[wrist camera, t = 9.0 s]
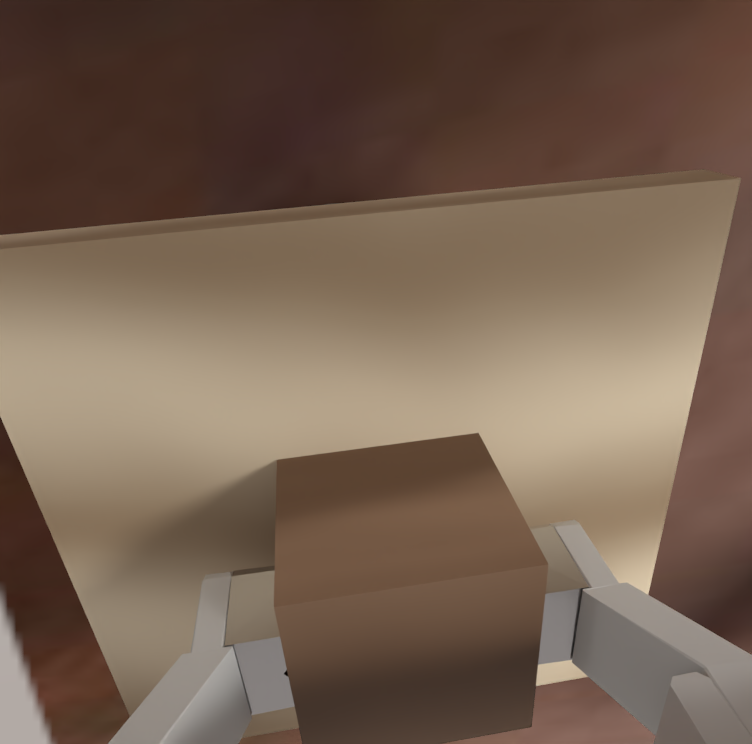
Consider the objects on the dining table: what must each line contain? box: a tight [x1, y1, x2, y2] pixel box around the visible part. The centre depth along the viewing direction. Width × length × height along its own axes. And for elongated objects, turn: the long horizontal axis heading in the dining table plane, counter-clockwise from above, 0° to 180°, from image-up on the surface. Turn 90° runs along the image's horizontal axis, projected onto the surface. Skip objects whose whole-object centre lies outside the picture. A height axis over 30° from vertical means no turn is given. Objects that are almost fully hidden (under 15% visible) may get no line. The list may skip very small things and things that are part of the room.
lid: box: [0, 169, 741, 744], centre depth 11 cm, size 13×13×4 cm
